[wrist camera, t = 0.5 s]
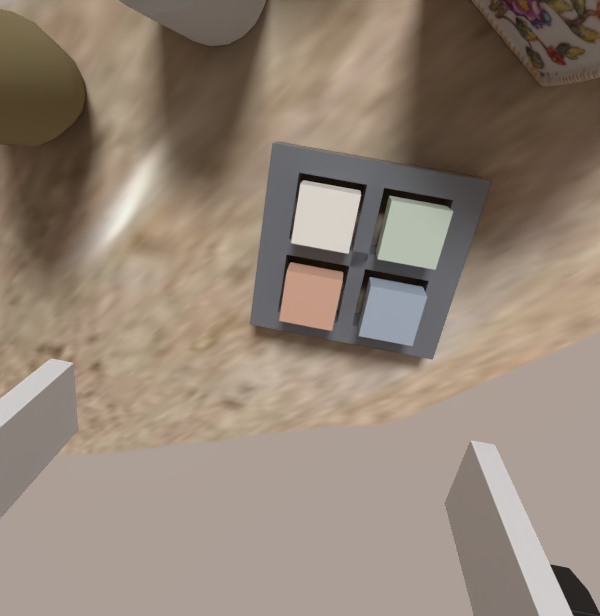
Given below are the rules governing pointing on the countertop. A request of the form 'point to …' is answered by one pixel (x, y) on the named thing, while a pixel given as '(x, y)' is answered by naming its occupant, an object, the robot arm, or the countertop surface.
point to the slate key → (391, 311)
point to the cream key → (325, 216)
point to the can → (203, 17)
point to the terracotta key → (311, 296)
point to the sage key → (413, 232)
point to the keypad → (362, 240)
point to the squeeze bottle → (35, 84)
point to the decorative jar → (549, 36)
